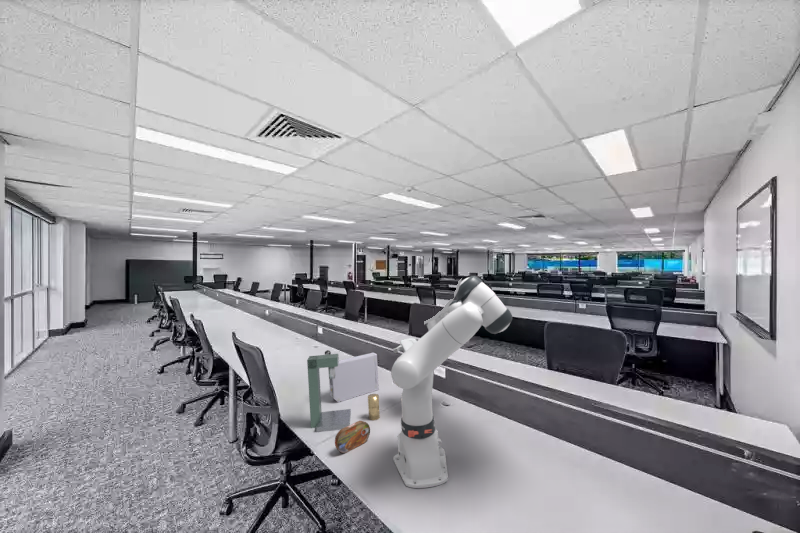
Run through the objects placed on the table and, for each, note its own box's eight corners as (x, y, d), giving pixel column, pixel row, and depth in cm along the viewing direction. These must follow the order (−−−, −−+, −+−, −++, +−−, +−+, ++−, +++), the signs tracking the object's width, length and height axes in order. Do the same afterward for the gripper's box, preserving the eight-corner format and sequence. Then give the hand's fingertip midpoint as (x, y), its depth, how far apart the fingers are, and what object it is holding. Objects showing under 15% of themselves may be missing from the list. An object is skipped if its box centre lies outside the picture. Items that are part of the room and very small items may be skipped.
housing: (380, 419, 140) (378, 397, 140) (369, 420, 139) (367, 398, 139) (379, 414, 145) (378, 393, 145) (368, 415, 144) (367, 394, 144)
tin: (338, 457, 114) (337, 434, 114) (334, 453, 116) (332, 431, 116) (371, 440, 124) (370, 419, 124) (366, 437, 126) (365, 416, 126)
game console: (380, 389, 174) (378, 354, 174) (334, 404, 159) (332, 365, 159) (375, 386, 179) (373, 352, 179) (330, 400, 163) (328, 362, 163)
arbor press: (349, 428, 134) (345, 359, 134) (309, 432, 132) (305, 362, 132) (351, 406, 155) (348, 346, 154) (316, 410, 153) (313, 349, 152)
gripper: (416, 332, 157) (390, 339, 154) (430, 354, 138) (400, 363, 135) (417, 343, 159) (391, 350, 156) (431, 366, 140) (402, 375, 137)
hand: (396, 356), depth 145 cm, fingers open, 8 cm apart
